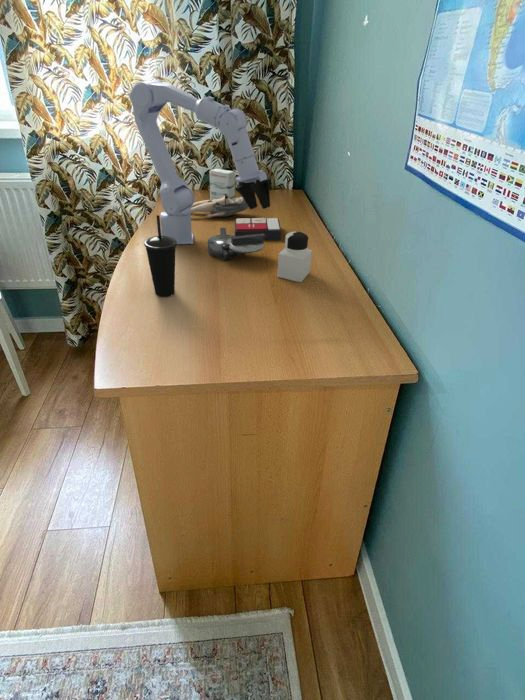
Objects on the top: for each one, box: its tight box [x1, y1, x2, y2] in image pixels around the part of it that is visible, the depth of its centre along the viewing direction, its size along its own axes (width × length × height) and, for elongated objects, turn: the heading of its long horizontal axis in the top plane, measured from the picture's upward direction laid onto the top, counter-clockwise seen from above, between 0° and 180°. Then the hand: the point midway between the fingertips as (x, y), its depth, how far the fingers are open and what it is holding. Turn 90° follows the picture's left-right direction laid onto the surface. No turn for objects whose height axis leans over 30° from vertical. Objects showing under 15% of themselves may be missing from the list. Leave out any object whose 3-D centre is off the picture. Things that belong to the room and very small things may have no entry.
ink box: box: [208, 168, 236, 200], centre depth 174 cm, size 9×5×12 cm, turn 66°
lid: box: [221, 233, 266, 254], centre depth 133 cm, size 13×11×3 cm
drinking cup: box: [143, 214, 178, 298], centre depth 110 cm, size 8×8×20 cm
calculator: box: [234, 217, 282, 241], centre depth 151 cm, size 11×4×15 cm
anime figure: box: [191, 194, 249, 219], centre depth 163 cm, size 10×7×30 cm
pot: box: [207, 227, 242, 262], centre depth 140 cm, size 10×18×4 cm, turn 7°
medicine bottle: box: [277, 231, 313, 283], centre depth 124 cm, size 7×7×12 cm
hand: (260, 207), depth 128 cm, fingers open, 7 cm apart
